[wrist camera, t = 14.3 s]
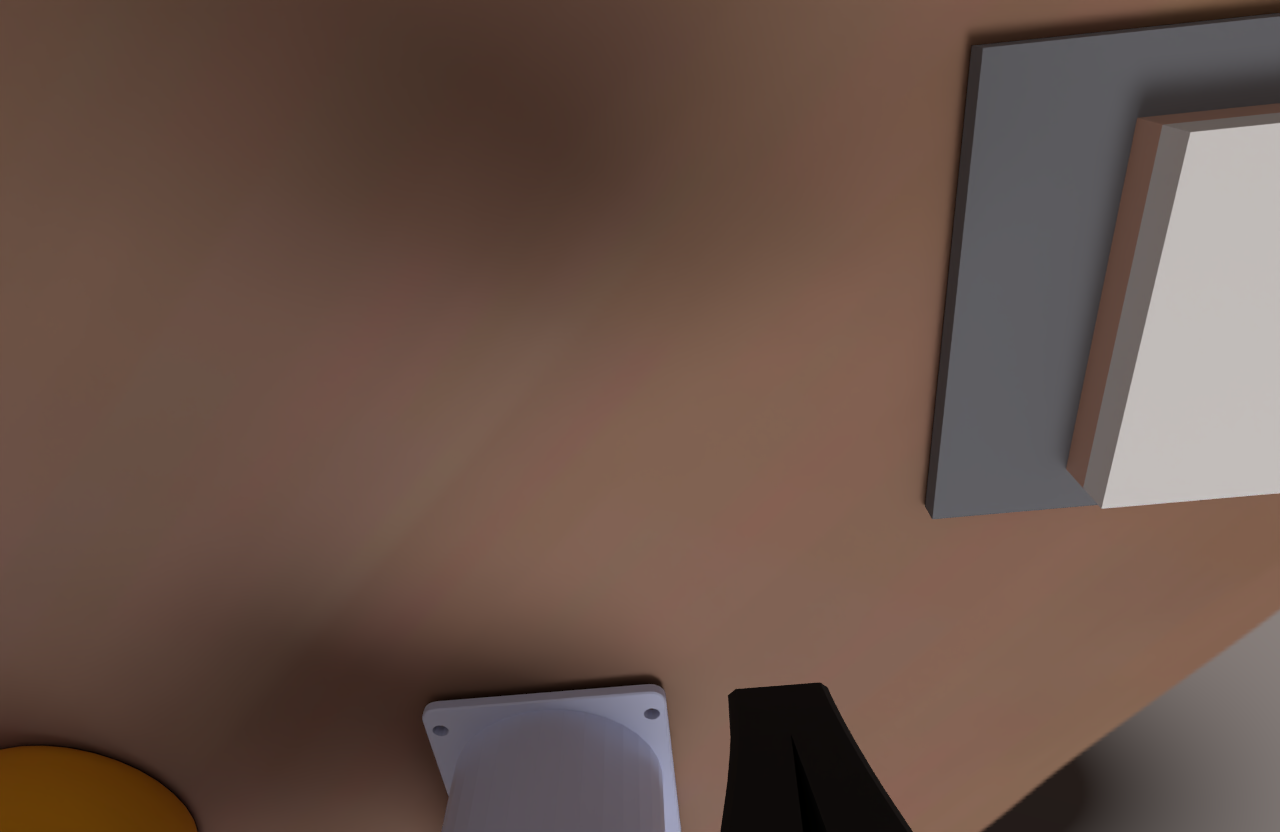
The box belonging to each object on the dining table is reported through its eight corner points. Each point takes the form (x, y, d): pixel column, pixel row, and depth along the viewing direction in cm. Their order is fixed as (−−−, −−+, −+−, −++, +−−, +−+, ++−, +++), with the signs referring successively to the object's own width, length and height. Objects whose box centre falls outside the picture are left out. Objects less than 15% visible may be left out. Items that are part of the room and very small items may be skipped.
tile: (1065, 468, 21) (1293, 448, 21) (1101, 508, 19) (1347, 487, 19) (1137, 118, 17) (1425, 87, 16) (1190, 132, 15) (1510, 99, 15)
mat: (1282, 475, 22) (1298, 487, 21) (925, 506, 22) (932, 519, 22) (1459, -6, 16) (1486, -6, 16) (971, 45, 16) (983, 47, 16)
